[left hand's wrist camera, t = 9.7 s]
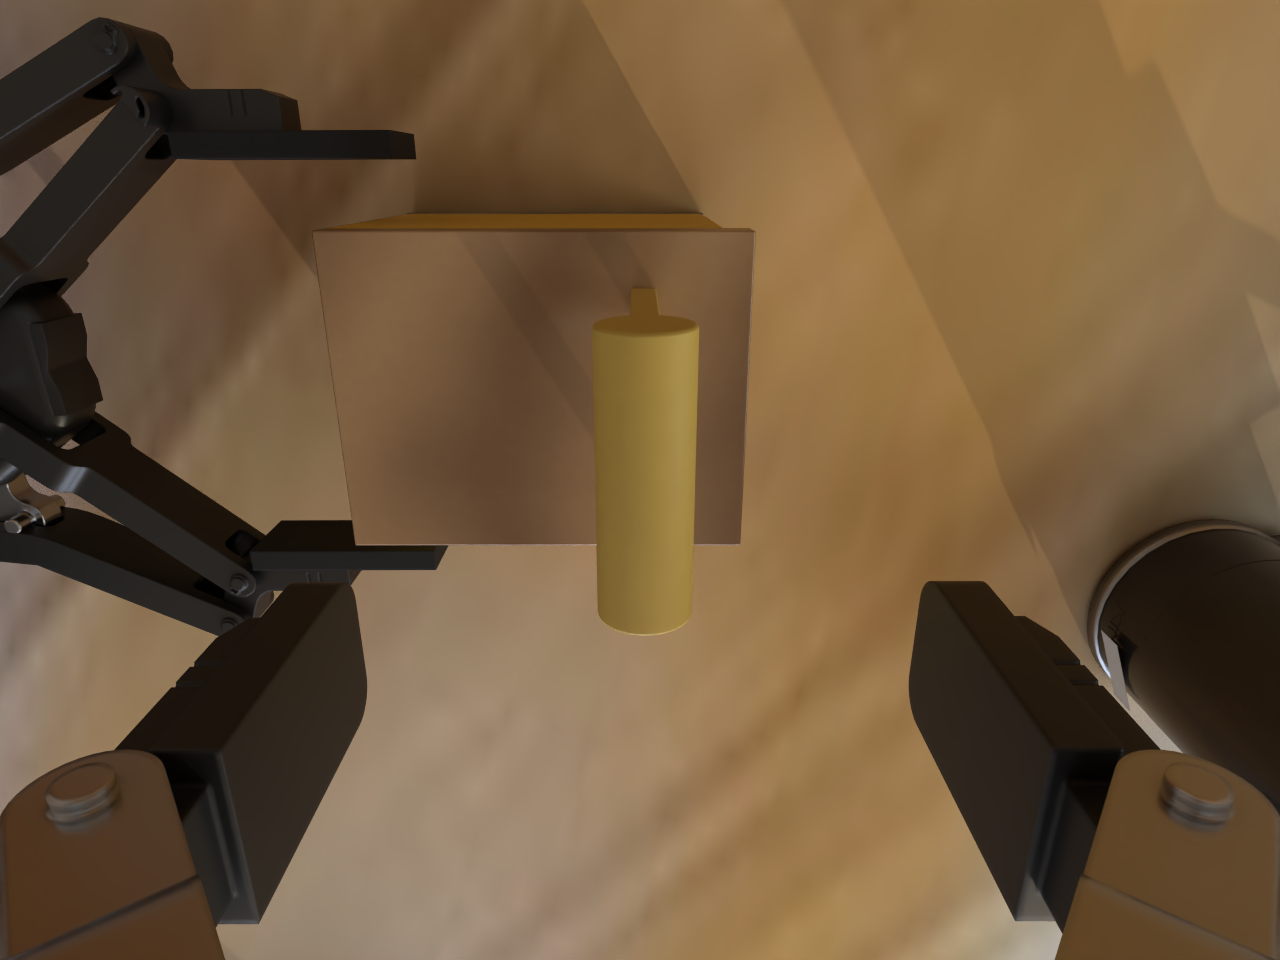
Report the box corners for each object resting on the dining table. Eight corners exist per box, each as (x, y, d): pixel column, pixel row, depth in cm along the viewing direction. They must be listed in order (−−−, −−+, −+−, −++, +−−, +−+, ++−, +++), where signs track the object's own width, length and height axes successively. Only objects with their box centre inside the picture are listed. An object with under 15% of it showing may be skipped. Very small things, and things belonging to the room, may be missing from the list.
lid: (750, 228, 23) (812, 257, 15) (736, 531, 26) (780, 690, 18) (325, 228, 23) (154, 258, 15) (365, 531, 26) (244, 690, 18)
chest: (701, 212, 32) (725, 227, 23) (695, 440, 35) (714, 530, 26) (412, 212, 32) (325, 227, 23) (434, 441, 35) (366, 531, 26)
